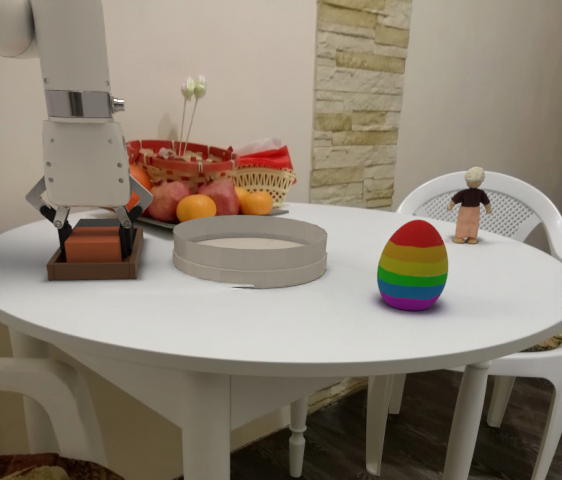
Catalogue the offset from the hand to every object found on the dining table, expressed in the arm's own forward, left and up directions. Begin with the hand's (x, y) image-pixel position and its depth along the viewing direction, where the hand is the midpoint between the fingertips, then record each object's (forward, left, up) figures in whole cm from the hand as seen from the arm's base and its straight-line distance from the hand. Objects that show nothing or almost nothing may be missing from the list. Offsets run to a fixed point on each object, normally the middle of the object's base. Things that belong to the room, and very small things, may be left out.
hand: (98, 255), depth 73 cm
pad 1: (0, 0, -1) cm, 1 cm away
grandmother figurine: (+61, +15, -2) cm, 63 cm away
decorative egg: (+38, -16, -2) cm, 41 cm away
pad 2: (0, +10, -2) cm, 10 cm away
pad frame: (0, +5, -2) cm, 5 cm away
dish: (+21, +2, -2) cm, 21 cm away
